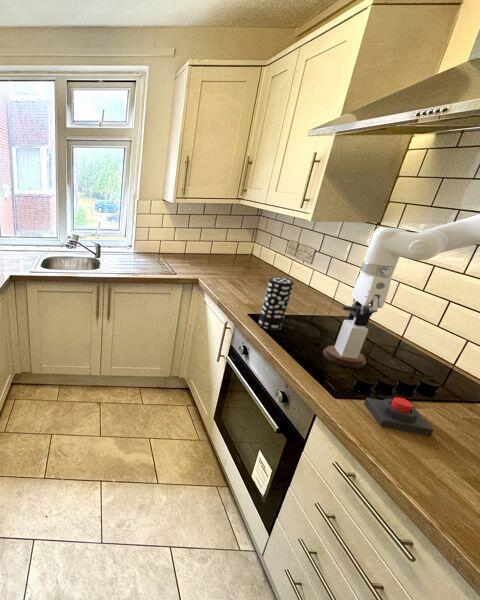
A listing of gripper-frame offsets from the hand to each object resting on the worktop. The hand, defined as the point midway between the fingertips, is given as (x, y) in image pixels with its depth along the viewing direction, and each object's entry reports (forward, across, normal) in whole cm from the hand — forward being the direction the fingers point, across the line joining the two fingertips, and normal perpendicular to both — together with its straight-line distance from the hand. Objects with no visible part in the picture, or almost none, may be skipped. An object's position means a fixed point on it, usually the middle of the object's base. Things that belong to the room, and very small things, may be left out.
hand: (357, 322), depth 103 cm
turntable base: (+14, 0, 0) cm, 14 cm away
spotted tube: (+14, +20, +19) cm, 31 cm away
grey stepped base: (+14, -30, -1) cm, 33 cm away
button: (+11, -30, -1) cm, 32 cm away
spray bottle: (+13, 0, 0) cm, 13 cm away
